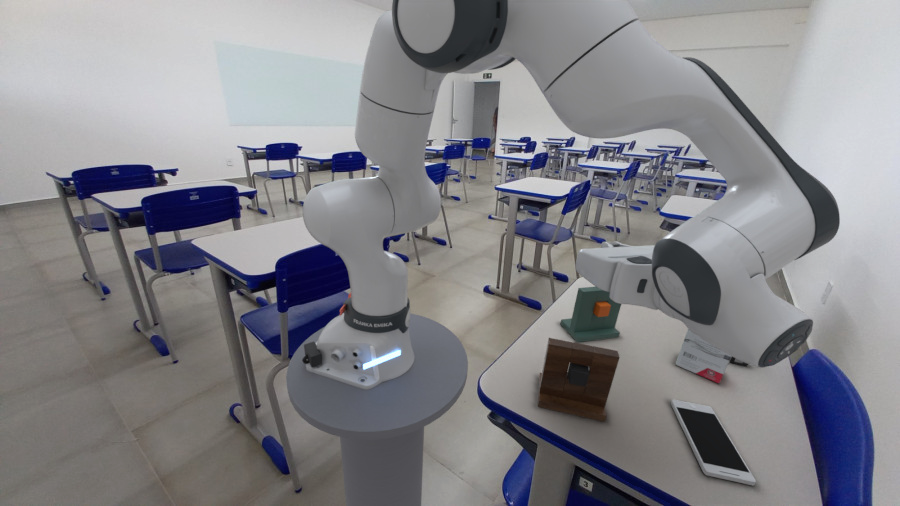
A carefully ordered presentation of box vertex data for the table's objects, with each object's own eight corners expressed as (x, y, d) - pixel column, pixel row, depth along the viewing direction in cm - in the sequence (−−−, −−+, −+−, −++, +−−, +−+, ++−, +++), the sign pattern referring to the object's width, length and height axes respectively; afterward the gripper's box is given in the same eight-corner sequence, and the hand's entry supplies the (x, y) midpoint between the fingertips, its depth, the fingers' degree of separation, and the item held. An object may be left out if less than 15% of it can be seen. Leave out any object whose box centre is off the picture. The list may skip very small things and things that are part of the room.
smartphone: (709, 409, 68) (711, 405, 68) (755, 486, 54) (757, 482, 54) (669, 402, 70) (671, 398, 69) (704, 475, 56) (706, 471, 55)
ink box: (723, 374, 78) (743, 329, 74) (719, 385, 75) (739, 339, 71) (679, 355, 84) (695, 312, 79) (674, 364, 80) (690, 320, 76)
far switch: (608, 316, 86) (611, 305, 85) (597, 317, 85) (600, 306, 84) (600, 309, 89) (603, 299, 88) (590, 310, 88) (592, 300, 87)
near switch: (585, 387, 63) (589, 373, 62) (568, 383, 64) (571, 370, 63) (584, 375, 66) (587, 363, 65) (567, 372, 66) (570, 359, 65)
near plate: (604, 422, 64) (621, 365, 59) (537, 406, 67) (548, 350, 62) (598, 390, 72) (613, 337, 67) (538, 377, 74) (548, 325, 69)
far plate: (618, 337, 89) (631, 292, 84) (577, 342, 86) (588, 296, 81) (598, 319, 96) (609, 277, 92) (560, 324, 93) (569, 280, 88)
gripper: (731, 256, 53) (659, 227, 65) (616, 263, 48) (561, 230, 60) (717, 293, 55) (650, 258, 68) (605, 304, 50) (555, 264, 62)
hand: (607, 245), depth 64 cm, fingers closed
